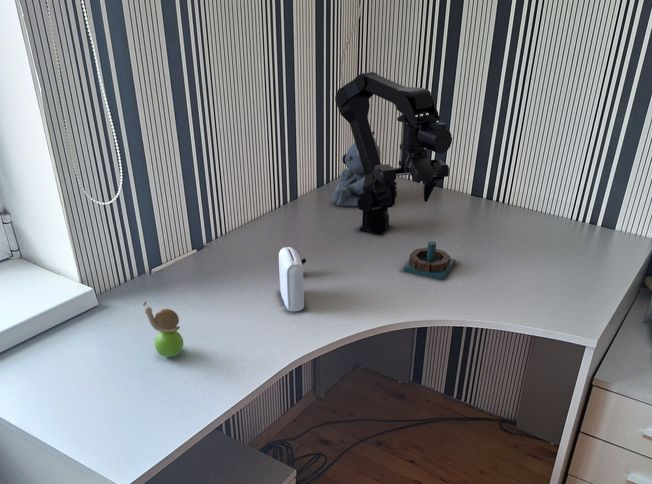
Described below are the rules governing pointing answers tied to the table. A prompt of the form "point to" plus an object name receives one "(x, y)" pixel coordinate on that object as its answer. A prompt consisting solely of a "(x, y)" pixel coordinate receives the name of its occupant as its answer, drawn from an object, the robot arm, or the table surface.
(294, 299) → the white toy toaster
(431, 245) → the post stand
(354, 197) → the koala plush
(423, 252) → the ring
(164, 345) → the snail figurine
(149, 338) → the table surface
